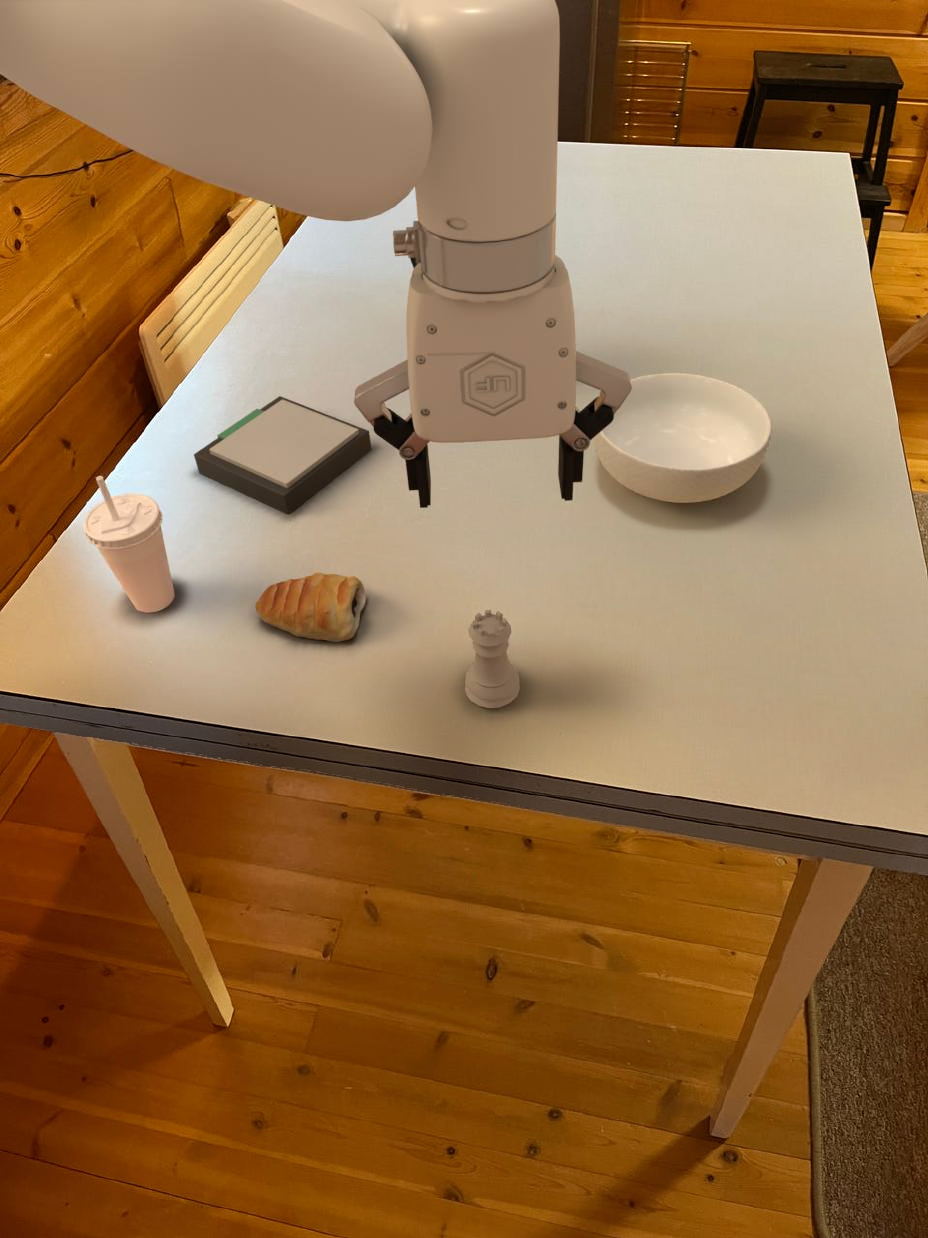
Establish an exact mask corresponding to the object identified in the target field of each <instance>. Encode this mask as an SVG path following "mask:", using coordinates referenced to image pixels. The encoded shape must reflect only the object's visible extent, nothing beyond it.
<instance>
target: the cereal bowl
mask: <svg viewBox="0 0 928 1238" xmlns="http://www.w3.org/2000/svg"><path fill="white" fill-rule="evenodd" d="M630 382H631V386H632V389H631V392H630V393H629V395H628V396H627V398H626V399H625V401H624V402H623V404H622V405H621V407H620V408H619V410H617V411H616V413H615V414H614V419H613V421H612V422H611V423H610V424H609V425H608V426H607V427H606V428H604V429H603V430H602V431H601V432H600V433H598V434H597V435H596V436H595V437H594V438H592V439H593V446H594V447H595V452H596V455H597V458H598V459H599V460H600V463H601V464H602V466H603V468H604V469H605V470H606V471H607V473H608V474H609V475H610V476H611V477H612V478H614V480H615V481H616V482H618V483H619V484H620V485H621V486H624V487H625V488H626V489H628V490H630V491H632V492H633V493H636V494H637V495H640V496H644V497H646V498H649V499H653V500H657V501H661V502H669V503H674V504H677V503H679V504H688V503H689V504H692V503H700V502H701V503H702V502H706V501H710V500H714V499H719V498H721V497H724V496H726V495H728V494H730V493H732V492H733V491H736V490H738V489H739V488H740V487H742V486H743V485H745V483H747V482H748V481H750V480H751V478H752V477H754V475H755V473H756V472H757V471H758V470H759V467H760V466H761V465H762V463H763V461H764V459H765V456H766V454H767V452H768V449H769V446H770V440H771V438H772V432H773V431H772V430H773V429H772V428H773V427H772V421H771V418H770V417H771V416H770V415H769V413H768V411H767V410H766V408H765V407H764V405H763V404H762V403H761V402H760V401H759V400H758V399H757V398H755V396H753V395H752V394H750V393H748V392H747V391H746V390H744V389H742V388H740V387H739V386H736V385H734V384H732V383H729V382H727V381H724V380H721V379H718V378H714V377H710V376H706V375H700V374H695V373H694V374H693V373H684V372H683V373H682V372H679V373H678V372H666V373H665V372H664V373H656V374H648V375H642V376H638V377H635V378H630Z"/></svg>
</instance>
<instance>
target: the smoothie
mask: <svg viewBox="0 0 928 1238" xmlns="http://www.w3.org/2000/svg"><path fill="white" fill-rule="evenodd" d="M95 480H96V483H97V485H98V488H99V490H100V492H101V495H102V497H103V500H102V501H100V502H99V503H97V504H96V505H94V506H93V507H92V508H91V509H90V510H89V511H88V512H87V513H86V515H85V516H84V519H83V523H82V526H83V527H82V528H83V530H84V533H85V536H86V539H87V540H88V542H89V543H90V544H91V545H92V546H95V547H96V548H97V550H98V552H99V554H100V555H101V556H102V557H103V559H104V560H105V562H106V564H107V565H108V567H109V568H110V571H112V573H113V575H114V577H115V578H116V579H117V582H118V583H119V585H120V586H121V587H122V589H123V591H124V592H125V594H126V595H127V597H128V599H129V600H130V602H131V603H132V605H133V606H134V608H135V609H136V610H137V611H139V612H142V613H147V614H149V613H150V614H151V613H156V612H160V611H162V610H164V609H166V608H167V607H168V606H170V605H171V603H173V601H174V599H175V595H176V594H175V589H174V585H173V580H172V575H171V570H170V565H169V560H168V554H167V550H166V544H165V540H164V533H163V529H162V526H161V525H162V523H163V512H162V510H161V509H160V506H159V504H158V503H157V501H156V500H155V499H154V498H152V497H150V496H149V495H145V494H141V493H124V494H123V493H122V494H118V495H115V496H112V495H111V494H110V492H109V489H108V486H107V484H106V481H105V478H104V477H103V476H102V475H98V476H96V477H95Z"/></svg>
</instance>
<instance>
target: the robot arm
mask: <svg viewBox="0 0 928 1238" xmlns="http://www.w3.org/2000/svg"><path fill="white" fill-rule="evenodd" d="M560 30H561V29H560V13H559V8H558V5H557V2H556V0H0V75H1V76H3V77H4V78H6V79H7V80H9V81H10V82H12V83H13V84H15V85H16V86H17V87H19V88H21V90H24V91H25V92H27V93H28V94H30V95H31V96H33V97H34V98H35V99H36V98H37V99H38V100H40V101H42V102H44V103H45V104H48V105H49V106H52V107H54V108H55V109H57V110H59V111H61V112H63V113H64V114H66V115H69V116H70V117H72V118H74V119H75V120H77V121H80V122H81V123H83V124H85V125H86V126H88V127H90V128H92V129H94V130H96V132H99V133H101V134H103V135H104V136H106V137H108V138H110V139H111V140H112V141H115V142H117V143H118V144H120V145H122V146H123V147H126V148H127V149H128V148H129V149H130V150H132V151H134V152H136V153H138V154H139V155H142V156H144V157H146V158H149V159H150V160H152V161H154V162H156V163H158V164H161V165H163V166H166V167H167V168H170V169H173V170H175V171H177V172H180V173H182V174H184V175H186V176H189V177H191V178H194V179H197V180H200V181H202V182H205V183H208V184H210V185H213V186H216V187H219V188H221V189H224V190H227V191H231V192H233V193H235V194H236V193H237V194H239V195H243V196H245V197H247V198H251V199H254V200H257V201H260V202H263V203H265V204H268V205H271V206H274V207H276V208H280V209H283V210H286V211H289V212H292V213H295V214H298V215H302V216H306V217H311V218H315V219H319V220H325V221H335V222H353V221H354V222H355V221H364V220H368V219H371V218H374V217H377V216H380V215H383V214H385V213H386V212H388V211H390V210H391V209H392V208H395V207H396V206H397V205H399V204H400V203H401V202H402V201H403V200H405V199H406V198H407V197H408V196H409V195H410V194H411V192H412V191H413V190H414V191H415V193H414V194H415V203H416V204H415V205H416V214H417V216H416V217H417V220H413V221H412V222H413V223H412V226H407V227H406V228H405V229H401V230H400V229H399V230H393V231H392V241H393V252H394V256H395V257H407V258H408V259H410V258H415V259H416V263H418V264H417V265H416V266H415V268H413V269H412V272H411V277H410V279H409V285H408V293H407V305H406V356H407V357H406V358H407V359H405V360H404V361H402V362H400V363H398V364H396V365H394V366H393V367H390V368H389V369H387V370H385V371H383V372H382V373H380V374H378V375H376V376H374V377H372V378H370V379H369V380H367V381H364V382H363V383H362V384H360V385H358V386H357V387H356V388H355V390H354V400H353V404H354V406H355V407H356V408H357V410H358V411H359V412H360V414H361V415H362V416H363V417H364V419H365V420H366V421H367V423H370V426H372V427H373V432H374V433H375V435H377V436H378V437H379V438H381V439H382V440H383V441H384V442H386V443H388V444H389V445H390V446H392V447H393V448H395V449H396V450H398V454H399V456H400V458H402V459H403V460H405V461H404V462H405V469H406V476H407V477H406V479H407V486H408V491H417V493H418V502H419V508H420V509H427V508H428V507H430V506H431V505H432V503H431V502H432V500H431V499H432V490H431V489H432V479H431V468H430V467H431V466H430V457H429V446H428V444H429V443H430V442H431V443H439V444H440V443H441V444H450V443H454V444H455V443H475V442H477V443H478V442H479V443H480V442H497V441H498V442H499V441H514V440H515V441H516V440H518V441H519V440H532V439H533V440H535V439H545V438H551V437H556V436H558V461H557V462H558V464H557V476H558V483H559V490H560V497H561V500H564V501H565V502H569V501H571V502H572V501H573V498H574V483H582V482H583V477H584V476H583V475H584V474H583V473H584V457H585V455H584V453H585V451H586V450H587V449H589V447H590V446H591V440H592V439H593V438H594V437H595V436H596V435H597V434H598V433H600V432H601V431H602V430H603V429H604V428H606V427H607V426H608V425H609V424H610V423H611V422H612V421H613V419H614V414H615V413H616V411H617V410H619V408H620V407H621V405H622V404H623V402H624V401H625V399H626V398H627V396H628V395H629V393H630V392H631V389H632V386H631V382H630V380H631V378H630V375H629V374H628V372H626V371H624V370H622V369H620V368H617V367H614V366H612V365H610V364H608V363H605V362H603V361H601V360H598V359H596V358H593V357H591V356H589V355H586V354H584V353H581V352H579V351H577V346H576V322H575V320H576V319H575V307H574V299H573V291H572V286H571V285H572V284H571V281H570V276H569V272H568V269H567V267H566V264H565V263H564V261H563V260H562V258H560V257H559V256H558V255H557V254H556V236H557V235H556V234H557V233H556V231H557V188H558V187H557V184H558V141H559V140H558V137H559V99H560V98H559V95H560V94H559V93H560V92H559V90H560V51H561V50H560V49H561V48H560V47H561V45H560V44H561V37H560V36H561V34H560V33H561V31H560ZM577 382H579V383H581V384H584V385H587V386H589V387H591V388H593V389H596V390H599V391H600V392H599V395H598V396H597V397H595V398H594V399H593V400H592V401H590V402H589V403H588V404H587V405H586V406H585V407H584V408H583V409H581V410H580V409H579V408H578V407H577V406H576V405H577ZM406 391H408V392H409V404H410V414H409V415H408V416H407V417H406V419H404V418H403V417H402V416H401V415H399V414H397V413H396V412H395V411H393V410H392V409H391V408H389V407H387V405H386V403H385V402H387V401H389V400H391V399H393V398H394V397H397V396H398V395H401V394H402V393H404V392H406Z"/></svg>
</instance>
